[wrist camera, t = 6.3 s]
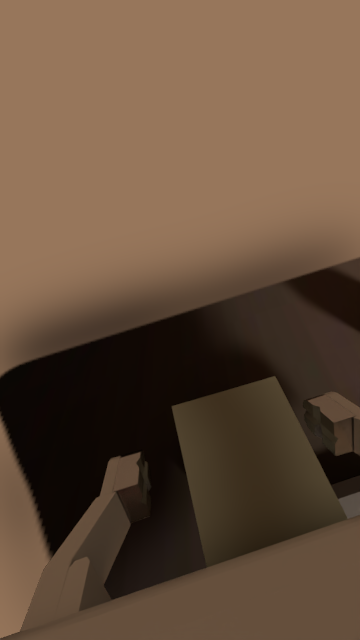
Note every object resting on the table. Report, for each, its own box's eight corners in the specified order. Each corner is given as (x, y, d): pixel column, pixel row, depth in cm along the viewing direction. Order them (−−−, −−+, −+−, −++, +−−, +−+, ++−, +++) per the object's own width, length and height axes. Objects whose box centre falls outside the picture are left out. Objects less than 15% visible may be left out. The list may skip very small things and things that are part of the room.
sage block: (238, 404, 14) (275, 375, 7) (264, 471, 12) (348, 518, 5) (185, 420, 14) (171, 406, 7) (202, 491, 12) (206, 567, 5)
